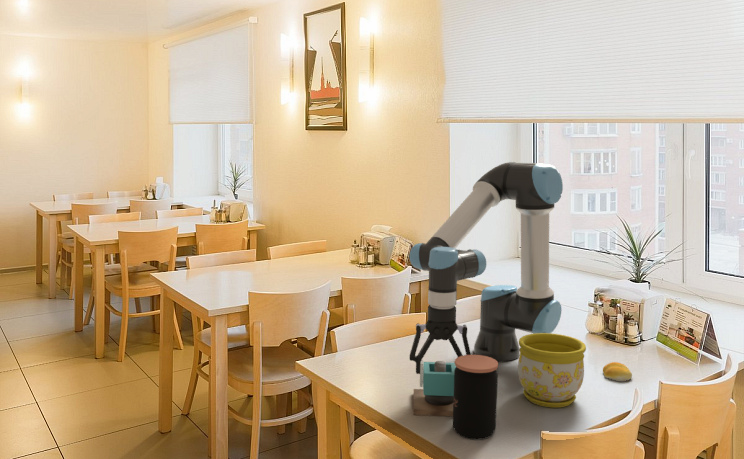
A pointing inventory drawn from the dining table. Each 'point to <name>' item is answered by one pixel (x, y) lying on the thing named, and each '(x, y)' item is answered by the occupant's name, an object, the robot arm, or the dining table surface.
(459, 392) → the coffee jar
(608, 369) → the bread roll
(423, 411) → the post stand
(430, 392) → the collar
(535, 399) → the flowerpot
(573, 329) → the dining table surface
